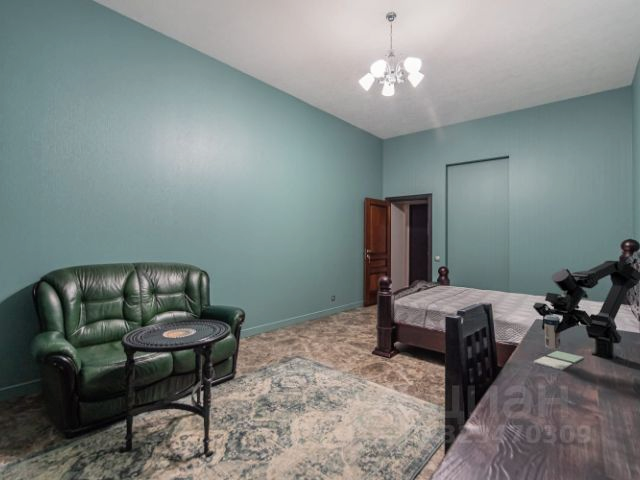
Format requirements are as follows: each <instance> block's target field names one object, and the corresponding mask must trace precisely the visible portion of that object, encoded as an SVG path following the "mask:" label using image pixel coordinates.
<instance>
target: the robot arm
mask: <svg viewBox="0 0 640 480" xmlns="http://www.w3.org/2000/svg"><path fill="white" fill-rule="evenodd" d="M608 276H610V281H611V287H610V288H609V292H608V293H607V295H606V298H605V299H604V302H603V303H602V305H601V308H600V310H599V311H598V313H597V314H590V315H589V314H588V313H587V311H586V310H582V309H580V306H579V304H580V302H581V301H582V299H588V298H589V296H588V294H587V291H586V290H584V289H594V287H595V288H596V286H597V285H599V281H600V280H602V279H604V278H606V277H608ZM550 278H551V280H552V282H553V283H554V284H555V285H556V287H557V288H558V289H559V290H560V291H563V292H562V293H561V294H560V293H555V292H554V293H553V292H546V294H545V299H544V301H545V302H547V303H550V306H551V307H550V306H549V305H548V304H546V303H544V302H535V303H534V304H533V306H532V307H533V309H534V310H535V311H536V312H537V313H538V315H539V316H541V317H542V325H541V329H542V330H543V331H545V321H544V317H545V316H546V315H555V316H560V317H562V319H561V320H560V324H559V325H558V327H557V329H556V331H555V332H556V333H560V334H561V333H562V332H564V331H566V330H568V329H570V328H571V329H572V328H574V327H576V326H578V327H579V326H580V325H581V326H585V330H586V333H587V337H588V338H590V339H593V340H594V351H593V352H591V355H592V356H597V357H601V358H606V359H611V360H613V359H615V358H616V357H617V358H618V354H616V353H615V346H614V345H615V344H620V343H621V342H622V336H621V335H620V333H619V332H618V331H617V324H616V322H615V321H616V320H615V318H616V317H617V315H618V313H619V310H620V308H621V306H622V304H623V302H624V299H625V298H626V295H627V293H628V292H629V290H630V289H632V288H635V287H636V286H637V285H638V284H639V282H640V271H639V269H637V268H635V267H633V266H630V265H628V264H626V263H624V262H622V261H620V260H606V261H604V262H603V263H600V264H598V265H596V266H594V267H592V268H590V269H588V270H582V271H580V270H579V271H576V272H575V271H574V272H572V273H571V272H570V270H569V269H568V268H562V269H561V270H558V271H556V272H554V273H553V274H552V275H551V277H550ZM552 307H553V308H552Z"/></svg>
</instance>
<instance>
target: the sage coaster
mask: <svg viewBox="0 0 640 480" xmlns="http://www.w3.org/2000/svg"><path fill="white" fill-rule="evenodd" d="M546 357H549V358H553V359H557V360H561V361H565V362H569V363H572V364H576V363H578V362H580V361H582V360H583V359H584V358H585V357H584V356H580V355H577V354H572V353H568V352H563V351H559V350H554V351H553V352H551V353H549V354H547V355H546Z"/></svg>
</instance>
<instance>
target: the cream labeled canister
mask: <svg viewBox="0 0 640 480" xmlns="http://www.w3.org/2000/svg"><path fill="white" fill-rule="evenodd" d="M544 321H545V330H544V346H545V348H547V349H548V350H554V351H559V350H560V349H561V332H560V333H556V332H555V331H556V329H557V327H558V325H559V324H560V322H561V319H560V317H559V315H555V314H553V315H546V316H545V317H544Z"/></svg>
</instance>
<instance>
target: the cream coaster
mask: <svg viewBox="0 0 640 480" xmlns="http://www.w3.org/2000/svg"><path fill="white" fill-rule="evenodd" d="M533 363H534V364H539V365H542V366H545V367H550V368H553V369H557V370H559V371H563V370H565V369H566V368H568V367H571V366H572V365H573V363H572V362H568V361H564V360H560V359H555V358H551V357H547V356H542V357H539V358H537V359H535V360H534V361H533Z"/></svg>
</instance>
